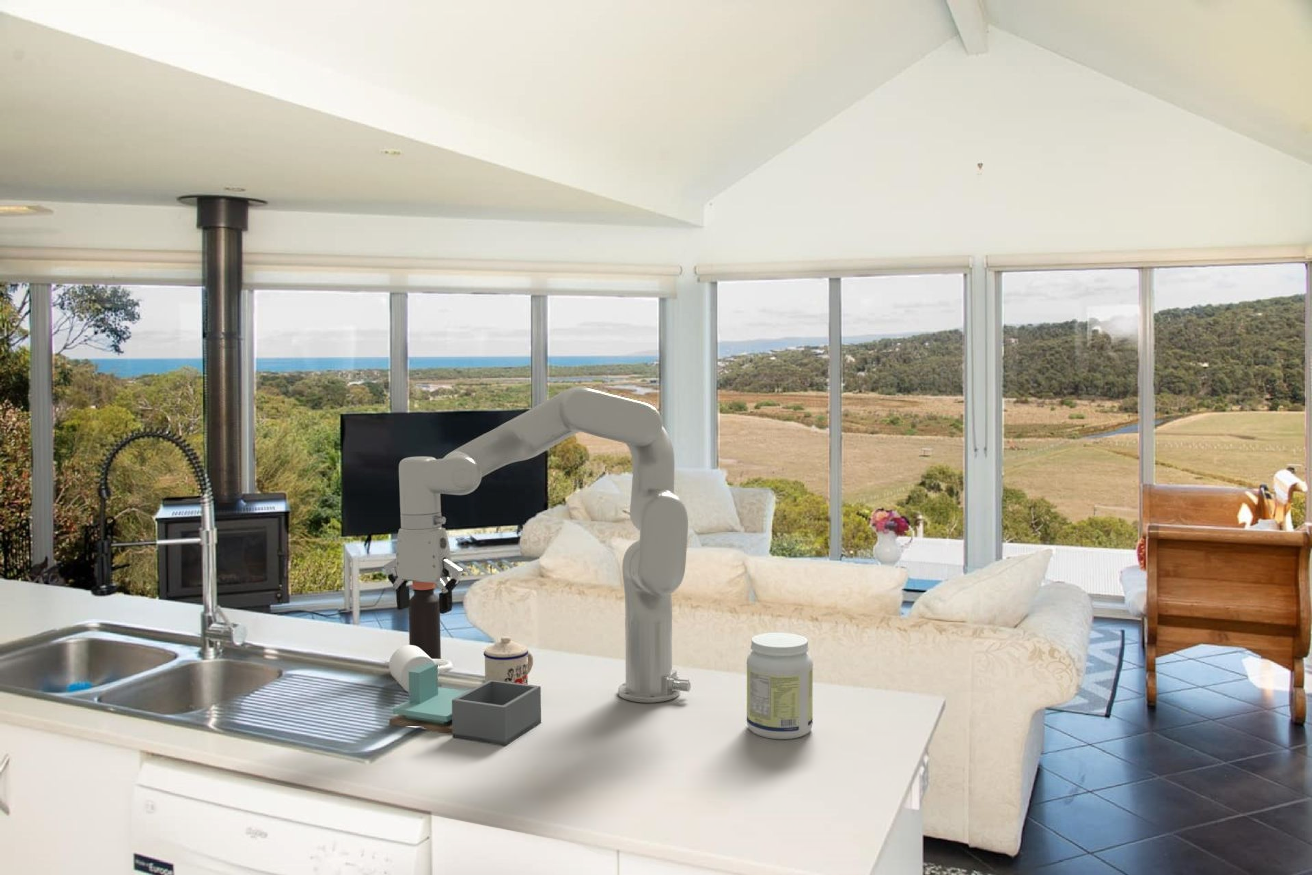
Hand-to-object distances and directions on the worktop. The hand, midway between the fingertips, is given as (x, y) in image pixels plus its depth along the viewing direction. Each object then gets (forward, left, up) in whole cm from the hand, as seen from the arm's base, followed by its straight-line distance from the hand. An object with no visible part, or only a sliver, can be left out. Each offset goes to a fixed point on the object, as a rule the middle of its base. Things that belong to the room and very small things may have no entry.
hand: (424, 610), depth 201 cm
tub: (-17, +2, -20) cm, 27 cm away
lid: (-4, 0, -19) cm, 20 cm away
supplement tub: (-65, -18, -21) cm, 71 cm away
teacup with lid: (-8, -19, -21) cm, 29 cm away
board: (-4, 0, -20) cm, 21 cm away
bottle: (+19, -27, -21) cm, 39 cm away
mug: (+11, -15, -21) cm, 28 cm away
